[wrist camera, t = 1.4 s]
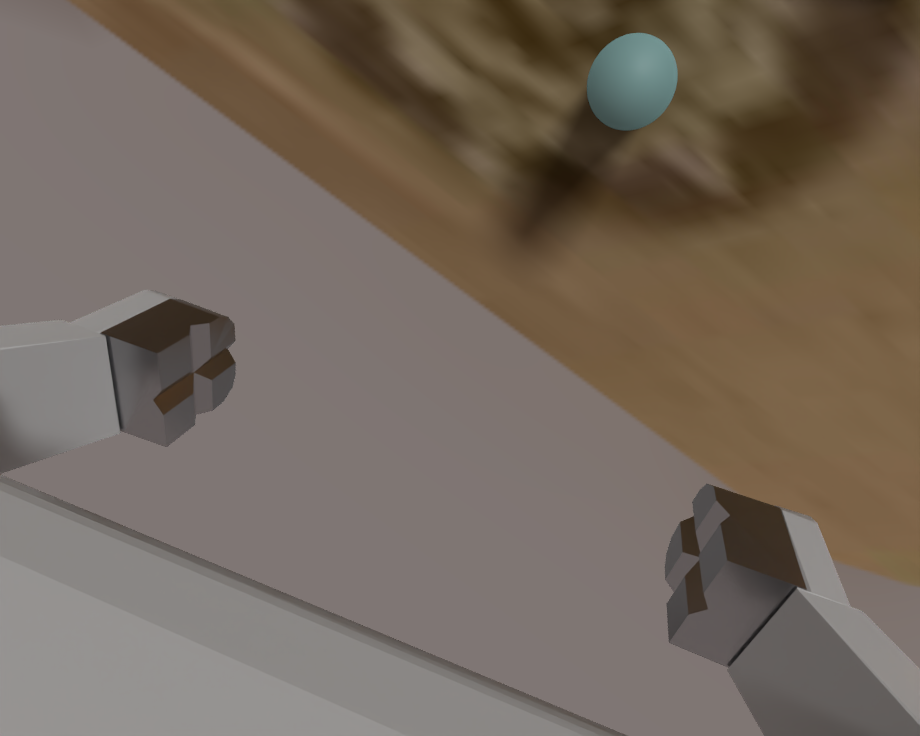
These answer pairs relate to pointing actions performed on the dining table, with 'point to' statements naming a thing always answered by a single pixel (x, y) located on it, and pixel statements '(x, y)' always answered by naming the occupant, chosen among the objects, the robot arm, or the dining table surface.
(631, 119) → the peg
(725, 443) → the dining table surface
